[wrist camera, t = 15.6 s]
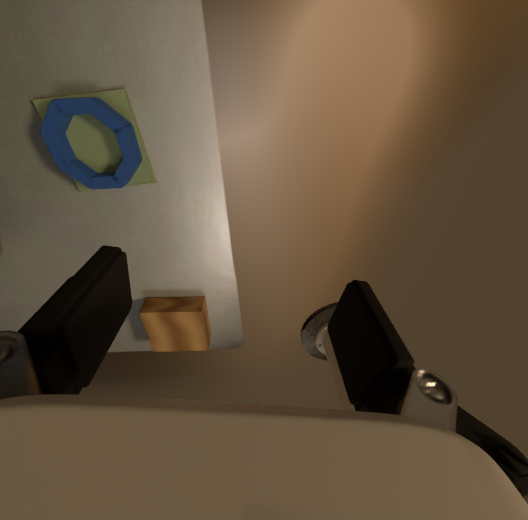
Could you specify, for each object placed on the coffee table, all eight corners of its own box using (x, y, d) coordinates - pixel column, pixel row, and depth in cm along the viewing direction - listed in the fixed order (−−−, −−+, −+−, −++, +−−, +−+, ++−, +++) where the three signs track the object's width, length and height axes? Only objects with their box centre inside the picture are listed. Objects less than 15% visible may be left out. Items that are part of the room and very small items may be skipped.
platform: (204, 296, 48) (201, 311, 45) (211, 334, 55) (208, 350, 51) (146, 297, 48) (138, 312, 45) (159, 335, 54) (153, 351, 51)
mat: (156, 181, 36) (155, 182, 36) (81, 190, 36) (79, 191, 36) (125, 88, 30) (123, 88, 29) (34, 99, 30) (31, 100, 30)
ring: (154, 141, 33) (149, 144, 31) (119, 198, 37) (112, 203, 35) (72, 75, 29) (61, 74, 27) (42, 147, 33) (31, 150, 31)
